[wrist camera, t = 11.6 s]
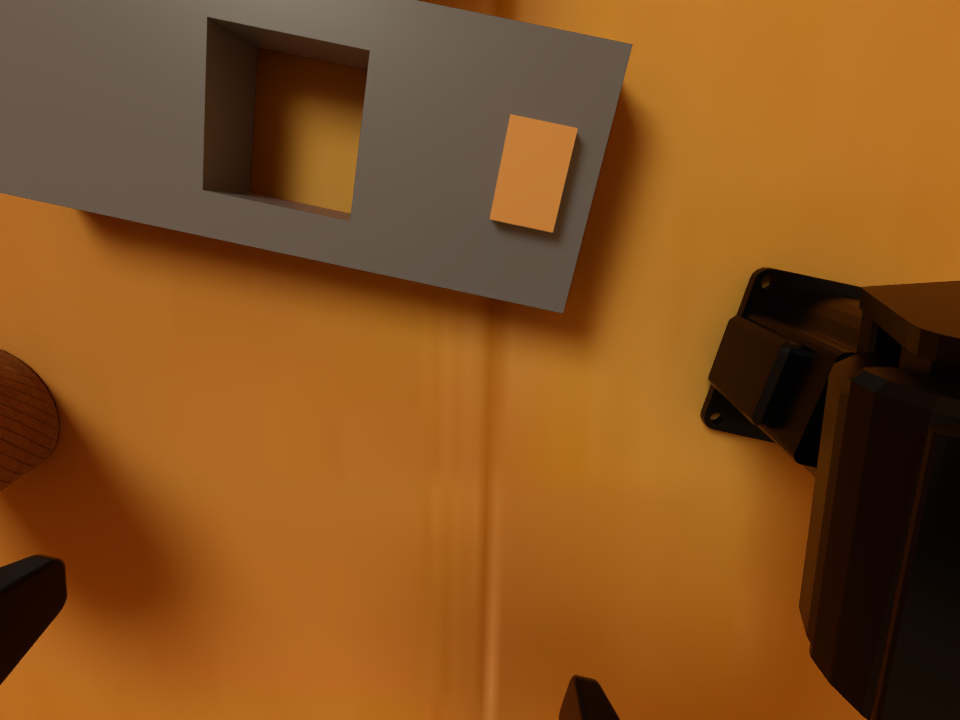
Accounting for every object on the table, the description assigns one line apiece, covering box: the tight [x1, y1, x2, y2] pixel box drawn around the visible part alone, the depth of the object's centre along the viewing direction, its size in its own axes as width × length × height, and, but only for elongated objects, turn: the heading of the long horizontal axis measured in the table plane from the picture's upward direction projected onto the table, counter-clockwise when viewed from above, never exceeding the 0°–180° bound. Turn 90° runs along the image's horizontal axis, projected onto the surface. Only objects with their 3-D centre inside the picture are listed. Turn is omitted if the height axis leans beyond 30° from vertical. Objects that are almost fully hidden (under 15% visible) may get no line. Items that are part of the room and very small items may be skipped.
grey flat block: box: [0, 0, 632, 313], centre depth 17 cm, size 20×8×4 cm, turn 78°
